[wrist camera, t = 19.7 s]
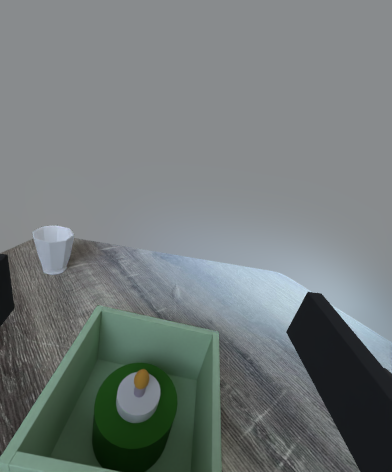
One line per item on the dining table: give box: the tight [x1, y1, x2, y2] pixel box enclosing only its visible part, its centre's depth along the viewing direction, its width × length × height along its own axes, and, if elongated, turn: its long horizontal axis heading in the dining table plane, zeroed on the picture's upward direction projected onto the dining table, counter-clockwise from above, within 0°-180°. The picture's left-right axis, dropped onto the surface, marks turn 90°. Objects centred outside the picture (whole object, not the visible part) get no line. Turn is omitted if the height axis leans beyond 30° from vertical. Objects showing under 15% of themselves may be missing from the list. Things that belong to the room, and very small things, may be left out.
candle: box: [92, 363, 178, 472], centre depth 25 cm, size 8×8×10 cm
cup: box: [32, 225, 74, 275], centre depth 49 cm, size 7×10×8 cm
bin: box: [0, 305, 222, 472], centre depth 26 cm, size 16×16×10 cm
